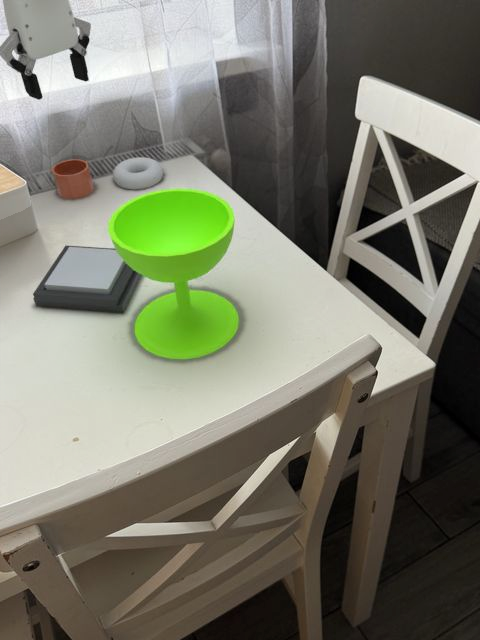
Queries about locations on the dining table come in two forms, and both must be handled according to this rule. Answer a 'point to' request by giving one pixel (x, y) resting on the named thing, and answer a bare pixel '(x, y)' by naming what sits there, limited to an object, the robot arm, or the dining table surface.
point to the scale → (89, 300)
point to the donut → (138, 173)
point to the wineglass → (178, 268)
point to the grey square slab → (87, 271)
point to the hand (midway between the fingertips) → (59, 88)
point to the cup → (73, 179)
